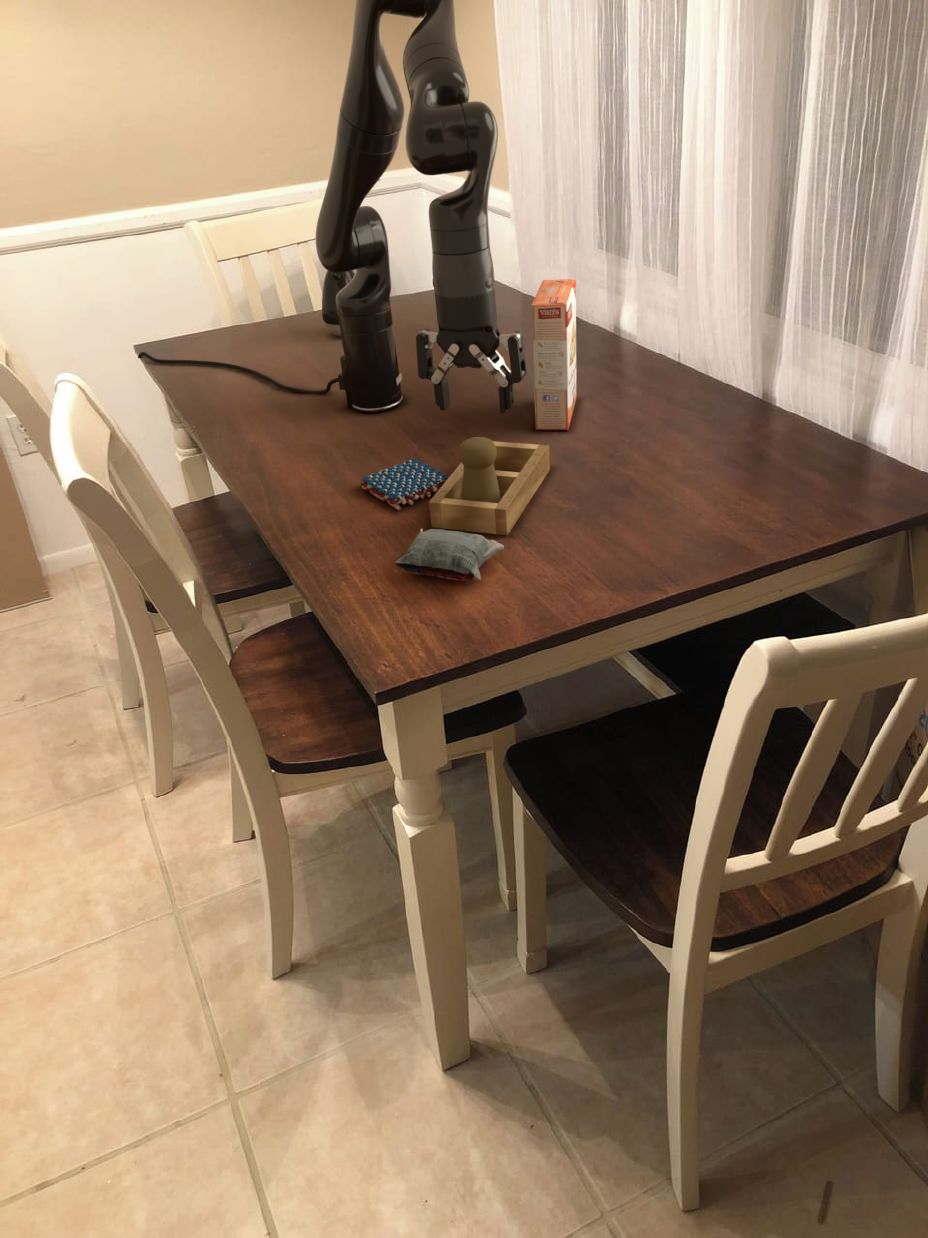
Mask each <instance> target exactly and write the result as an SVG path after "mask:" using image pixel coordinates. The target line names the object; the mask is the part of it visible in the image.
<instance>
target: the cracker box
mask: <svg viewBox="0 0 928 1238" xmlns="http://www.w3.org/2000/svg"><path fill="white" fill-rule="evenodd" d="M531 333H532V335H531V336H532V337H531V338H532V365H533V392H534V394H533V395H534V420H535V421H534V424H535V430H536V431H569V429H570V425H571V422H572V417H573V414H574V411H575V405H576V402H577V280H576V279H572V278H569V279H568V278H562V279H561V278H560V279H543V280H542V281H541V283H540V286H539V288H538V290H537V292H536V294H535V297H534V298H533V301H532V303H531Z"/></svg>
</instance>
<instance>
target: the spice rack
mask: <svg viewBox="0 0 928 1238" xmlns="http://www.w3.org/2000/svg"><path fill="white" fill-rule="evenodd" d="M492 441H493V443H494V444H495V447H496V449H497V455H496V459H495V461H494V468H495V473H496V477H497V482H498V487H499V491H500V496H501V500H500V502H499V503H490V502H480V501H469V500H462V492H463V471H464V465H463V464H462V463H461V462H460V463H459V464H458V465H457V467H456V468H455V469H454V470H453V472H452V473H451V474H450V476H448V477H449V478H448V479H447V481H446V482H445V483H444V484H443V485H442V486H440V487H441V488H440V489H439V490H438V491H436V492H435V494H434V495H433V496H432V498H431V499H430V500H429V502H428V507H429V513H430V514H429V517H430V523H431V524H430V525H431V528H432V529H443V530H451V531H461V532H472V533H482V534H490V535H491V534H492V535H499V536H509V534H510V532H511V531H512V529H513V528H514V527H515V525H516V523H517V522H518V520H519V519H520V517H521V516H522V514H523V512H524V511H525V509H526V508H527V506H528V505H529V503H530V501H531V500H532V498H533V497H534V495H535V494H536V492H537V491H538V489H539V487H540V486H541V484H542V483H543V481H544V480H545V478H546V476H547V474H548V473H549V472H550V470H551V458H550V457H551V456H550V445H549V444H536V443H522V442H521V443H520V442H508V441H494V440H492Z"/></svg>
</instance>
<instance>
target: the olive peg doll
mask: <svg viewBox="0 0 928 1238" xmlns="http://www.w3.org/2000/svg"><path fill="white" fill-rule="evenodd" d="M493 441H494V440H492V439H490V438H489V437H485V436H474V437H470V438H469V437H468V438H467V439H465V440H463V441H462V442H461V444H460V445H459V448H458V457H459V460H460V463H462V464H463V465H464V471H463V492H462V500H469V501H480V502H490V503H499V502H500V500H501V496H500V491H499V487H498V482H497V477H496V473H495V470H496V469H495V468H494V461H495V459H496V455H497V449H496V447H495V444H494V443H493Z"/></svg>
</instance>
